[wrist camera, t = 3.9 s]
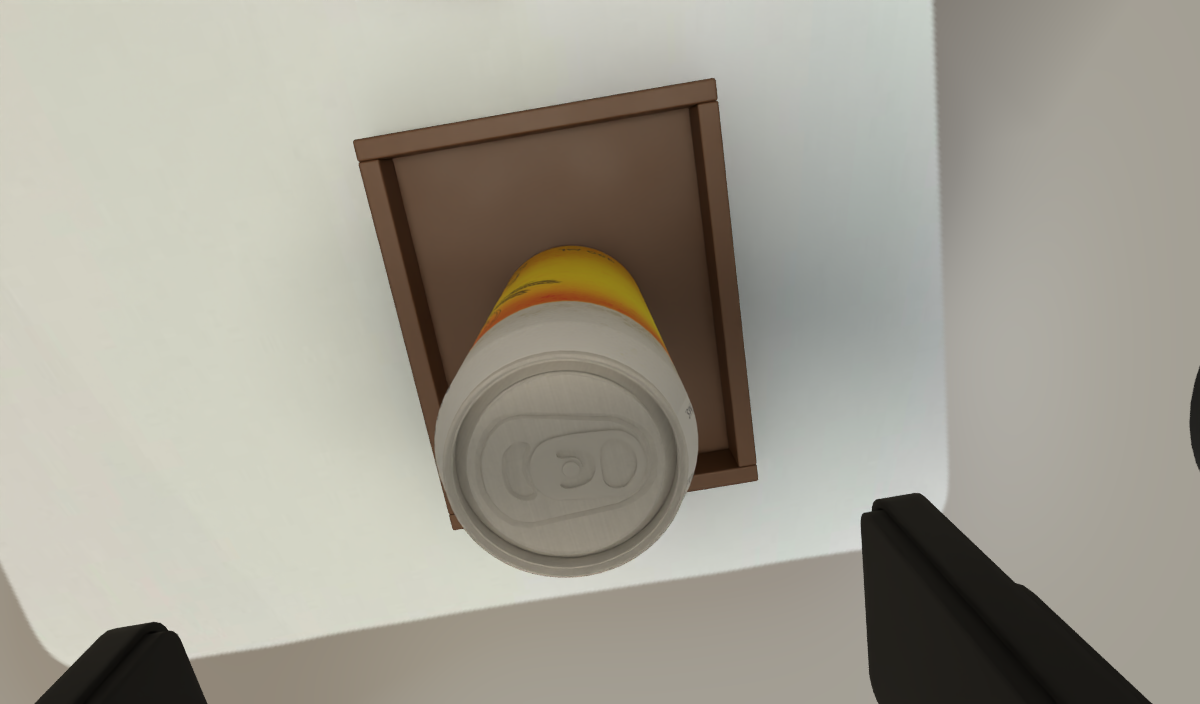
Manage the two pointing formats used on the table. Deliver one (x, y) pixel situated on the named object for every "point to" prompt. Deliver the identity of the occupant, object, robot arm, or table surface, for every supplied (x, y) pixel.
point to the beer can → (567, 422)
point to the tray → (571, 238)
